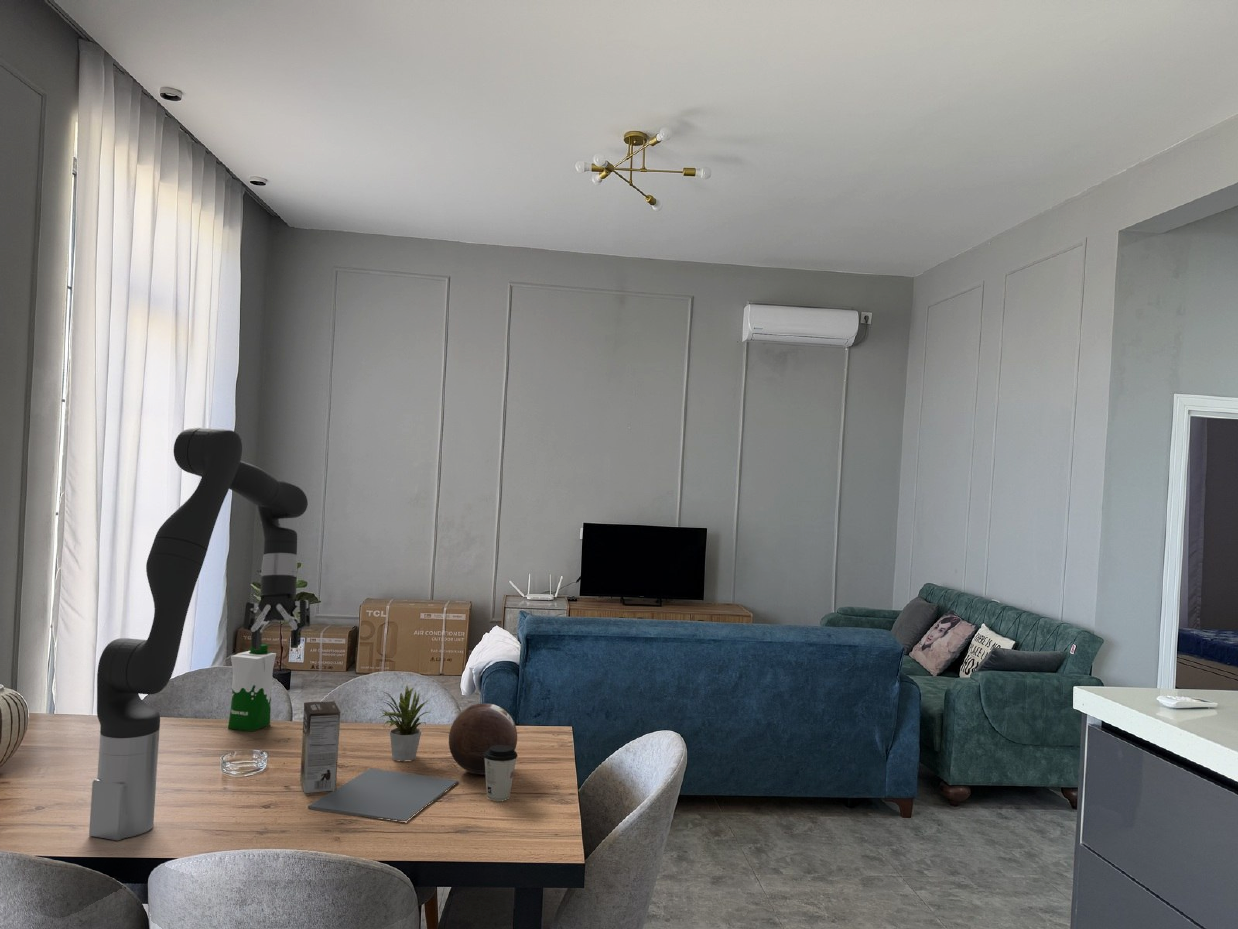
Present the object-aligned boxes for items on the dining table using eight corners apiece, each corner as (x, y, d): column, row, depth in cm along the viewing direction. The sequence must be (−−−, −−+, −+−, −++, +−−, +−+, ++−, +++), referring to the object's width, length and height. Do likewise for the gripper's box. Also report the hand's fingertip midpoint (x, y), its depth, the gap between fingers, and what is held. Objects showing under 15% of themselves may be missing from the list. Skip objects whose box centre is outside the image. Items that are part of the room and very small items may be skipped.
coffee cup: (483, 804, 177) (485, 754, 177) (479, 792, 183) (481, 743, 184) (517, 803, 179) (520, 753, 179) (512, 790, 185) (515, 742, 186)
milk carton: (275, 724, 224) (280, 644, 225) (252, 733, 215) (257, 651, 216) (245, 720, 226) (250, 641, 227) (221, 729, 217) (226, 647, 218)
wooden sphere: (520, 782, 191) (524, 712, 191) (450, 785, 186) (454, 714, 187) (509, 760, 205) (513, 695, 205) (443, 763, 201) (447, 696, 201)
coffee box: (298, 779, 186) (303, 701, 186) (330, 776, 188) (335, 700, 189) (303, 794, 177) (307, 713, 178) (336, 790, 180) (341, 711, 180)
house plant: (366, 749, 208) (371, 679, 208) (426, 746, 213) (430, 677, 213) (372, 768, 194) (376, 694, 195) (436, 764, 199) (440, 692, 200)
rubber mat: (405, 823, 165) (405, 820, 165) (307, 808, 170) (308, 805, 170) (458, 782, 188) (458, 780, 188) (370, 770, 193) (370, 768, 193)
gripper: (240, 575, 196) (236, 649, 192) (302, 571, 195) (299, 647, 191) (257, 578, 203) (253, 650, 200) (317, 575, 202) (314, 647, 198)
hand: (275, 648), depth 195 cm, fingers open, 8 cm apart
